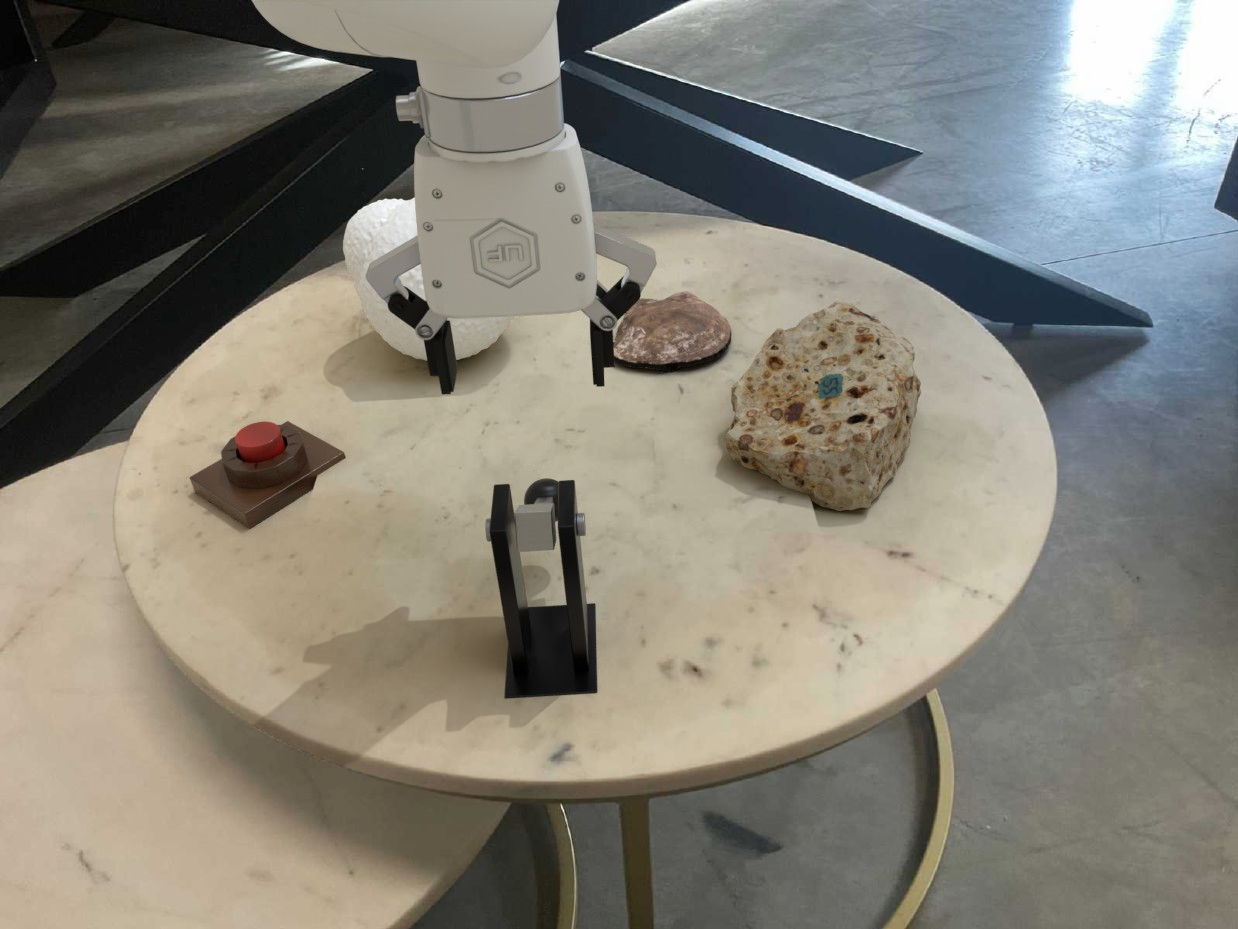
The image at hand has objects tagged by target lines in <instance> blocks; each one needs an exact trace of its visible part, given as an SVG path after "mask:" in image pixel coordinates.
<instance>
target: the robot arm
mask: <svg viewBox="0 0 1238 929" xmlns="http://www.w3.org/2000/svg"><path fill="white" fill-rule="evenodd" d="M251 2H252V4H253V5H254V7H255V9H256V10H257V11H258V12H259V13H260V15H261V16H262V17H263V18H264V19H265V20H266V21H267V22H268V23H269V25H271V26H272V27H273V28H275V29H276V30H277V31H279V33H281V34H283V35H284V36H287V37H288V38H290V39H291V40H294V41H296V42H298V43H300V44H303V45H306V46H310V47H312V48H315V49H320V50H323V51H324V50H326V51H330V52H335V53H336V52H337V53H345V54H354V55H361V56H369V57H379V58H396V59H401V60H402V59H403V60H411V61H415V62H416V67H417V68H416V69H417V73H418V74H417V75H418V79H419V80H418V81H419V84H420V86H417V87H416V90H415V91H413V92H409V94H408V95H396V97H395V109H396V110H395V111H396V116H397V119H398V121H399V122H406V121H409V122H410V121H412V123H413V124H419V126H420V129H423V132H424V135H423V136H422V137H421V138H420V139H419V141H418V142H417V144H416V145H415V147H414V158H413V160H414V161H413V190H414V191H413V192H414V194H413V195H414V197H415V211H416V223H417V234H418V235H417V236H415V237H414V238H412V239H410V240H409V241H407V242H405V243H403V244H402V245H400V246H398V247H397V248H395V249H393V250H391V251H390V252H388V253H386V254H384V255H383V256H381V257H379V258H378V259H376V260H374V261H372V262H371V263H370V265H369V268H368V270H367V273H366V279H367V281H368V282H369V283H370V285H371V286H372V287H373V288H374V290H375V291H376V292H377V293H378V295H379V296H380V297H381V298H382V300H383V299H384V301H385V302H386V303H387V304H388V309H389V311H390V312H391V313H392V314H394V315H395V316H397V317H398V318H399V319H401V320H402V321H404V322H405V323H406V324H408V325H409V326H411V327H412V328H413V329H415V332H416V335H417V336H418V337H419V338H420V339H422V340H424V345H425V350H426V356H427V361H426V362H427V367H428V372H429V376H430V377H438V381H439V386H440V392H441V395H442V396H443V395H451V393H454V392H455V386H456V381H457V376H458V363H457V362H458V361H457V360H456V355H455V349H454V343H453V336H452V330H451V324H450V320H449V321H447V318H458V319H466V318H492V317H513V316H514V317H529V316H547V315H548V316H550V315H561V314H563V315H564V314H570V313H575V312H576V313H577V312H580V311H581V312H582V313H583V315H585V316H587V318H589V339H590V356H591V370H592V372H591V373H592V384H593V386H596V388H598V387H599V388H600V387H603V388H604V387H605V369H607V368H610V369H611V368H615V367H616V366H615V362H614V344H613V343H614V329H616V327H617V325H618V321H619V320H620V319H621V318H622V317H624V316H625V315H624V314H626V312H627V311H628V310H629V309H630V308H631V307H632V306H633V305H634V304H635V303H636V302H637V301H638V300H639V299H640V298H641V297H642V292H643V290H644V288H645V287H646V285H647V284H648V282H649V280H650V278H651V276H652V274H653V273H654V270H655V269H656V267H657V263H658V262H657V257H656V256H657V255H656V251H655V249H653V248H652V247H650V246H648V245H645V244H643V243H641V242H638V241H636V240H634V239H632V238H630V237H627V236H624V235H622V234H620V233H618V232H615V231H613V230H611V229H608V228H606V227H604V226H602V225H598V224H596V223H594V214H593V209H592V208H593V207H592V199H591V193H590V186H589V180H588V174H587V169H586V164H585V160H584V156H583V152H582V148H581V145H580V142H579V138H578V135H577V132H576V130H575V128H574V127H573V126H571V125H570V124H568V123H565V117H564V102H563V90H562V88H563V87H562V76H561V62H560V59H561V58H560V48H559V32H558V20H557V12H558V8H559V4H560V0H251ZM597 255H598V256H601V257H604V258H605V259H608V260H611V261H613V262H615V263H617V264H620V265H622V266H625V267H626V271H625V273H624V275H623V276H622V277H620V279H618V281H617V282H616V283H615V284H613V286H612V287H610V289H609V290H608V289H607V287H605V286H604V285H603V284H602V283H601V282H600V281H599V280H598V260H597V259H598V258H597ZM419 264H421V270H422V278H423V286H424V291H425V296H426V301H425V300H423V299H422V298H421V297H419V296H418V295H417V294H415V293H414V292H412V291H411V290H410V289H408V288H407V287H405V286H403V285H402V283H401V280H400V279H399V278H398V276H400V275H402V274H404V273H405V272H407V271H409V270H411V269H412V268H414V267H416V266H418V265H419Z"/></svg>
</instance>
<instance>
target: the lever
mask: <svg viewBox="0 0 1238 929" xmlns="http://www.w3.org/2000/svg"><path fill="white" fill-rule="evenodd" d="M558 488H559V481H558V480H556V479H554V478H548V477H547V478H546V477H545V478H540V479H538V480H535V481H534V482H533V483H531V484H530V485H529V486H528V487H527V489H526V491H525V493H524V497H523V504H518V506H517V508H516V510H515V511H514V516H515V527H516V541H517V552H520V553H525V552H540V551H554V550H555V547H556V543H557V528H556V522H558Z"/></svg>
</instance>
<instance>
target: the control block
mask: <svg viewBox="0 0 1238 929" xmlns="http://www.w3.org/2000/svg"><path fill="white" fill-rule="evenodd" d="M277 425H278V426H279V428H280V431H281V434H282V438H283V441H284V444H285V449H284V451H283V453H281V454H280V455H278V456H276V457H275V458H273V459H271V460H267V461H263V462H259V463H249V462H245V461H243V460H242V458H241V456H240V453H239V450H238V447H237V444H236V441H235V436H233V437H232V438H230V439H229V440H228V442H227V443H226V444H225V445H224V446H223V448H222V449H221V451H220V457H221V458H220V459H218V460H217V461H215V462H213V463H211V464H210V465H208V466H206V467H204V468H203V469H201V470H198V472H196V473H194V474H192V475H190V476H189V480H190V483H191V486H192V488H193V491H194V493H195V494H197V495H198V496H200V497H201V498H202V499H204V500H206V501H207V502H208V503H210V504H212V505H213V506H215V507H216V508H218V509H219V510H221V511H222V512H223V513H225V514H226V515H228V516H230V517H231V518H232V519H233V520H235V521H237V522H238V523H240V524H241V525H243V526H244V527H246V528H247V529H249V530H251V529H253V528H255V527H256V526H257V525H259V524H261V523H263V522H264V521H266V520H267V519H269V518H270V517H272V516H274V515H275V514H277V513H279V512H280V511H282V510H284V508H286V507H288V506H289V505H291V504H293V503H294V502H296V501H297V500H299V499H300V498H302V497H304V496H305V495H307V494H309V493H310V492H312V491H313V490H314V487H315V485H316V483H317V482H316V481H317V478H318V476H320V475H322V473H324V472H325V471H327V470H329V469H330V468H332V467H334V466H335V465H337V464H338V463H340V462H341V461H343V460H345V459H346V454H345V451H343V450H341V449H339V448H338V447H336V446H334V445H332V444H331V443H329V442H327V441H325V440H323V439H322V438H320V437H317V436H316V435H314V434H312V433H311V432H309V431H307V430H305V429H303V428H302V427H300V426H298V425H296V424H294V423H293V422H290V421H289V420H286V421H284V422H283V423H282V424H277Z"/></svg>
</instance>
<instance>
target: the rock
mask: <svg viewBox="0 0 1238 929" xmlns="http://www.w3.org/2000/svg"><path fill="white" fill-rule="evenodd" d="M915 354H916V353H915V351H914V346H913V344H912V342H910V341H909V340H908V339H907V338H906V337H904V336H901V335H899V333H898V332H897V331H896V330H894V329H892V328H891V327H890V326H889V325H888V324H887V323H885V322H884V321H881V320H880V319H878V318H874V317H872V316H871V315H869V314H868V313H866V312H863V311H861V310H860V309H859V308H857V307H856V306H855V305H854V304H853V303H852V302H845V301H839V300H836V301H835V302H833V303H831V304H830V305H828V306H826V308H822V309H821V310H819V311H817V312H816V311H815V312H813V313H809V314H808V315H806V316H804V318H801V320H800V321H799V322H798V324H797V325H796V326H794V327H789V328H787V329H783V328H779V327H777V328H776V329H775V330H774V331H773V333H771V335H770V336H769V337H768V338H767V339H766V340H765V341H764V342H763V344H762V346H761V350H760V351H759V353H757V355H756V356H755V358H754V359H753V361H752V363H751V365H750V366H749V368H748V369H747V370H746V371H745V372H744V373H743V374H742V376H741V377H740V379H739V380H738V381H736V382H735V383H734V384H733V385H732V386H731V388H730V389H731V390H730V392H731V394H730V395H731V396H730V402H731V405H732V412H734V416H733V419H732V422H731V424H730V426H729V429H728V430H727V432H726V433H725V436H724V438H723V439H724V442H725V448H726V450H727V452H728V455H729V457H730V459H731V460H733V461H735V463H738V464H739V465H740V466H742V467H743V468H746V469H748V470H755V471H758V472H759V473H760V474H763V475H766V476H768V477H770V479H771V480H775V481H777V482H778V484H779V485H780V486H782V487H784V488H787V489H789V490H793V491H796V492H801V493H803V494H807V495H808V496H809V498H810V501H811V502H813V503H814V504H816V505H817V506H819V507H822V508H827V509H832V510H835V511H838V512H842V511H846V510H847V511H853V510H859V509H864V508H865V509H869V508H871V507H872V502H874V500H875V499H876V498H877V497H878V496H880V495H881V493H882V492H883V489H884V488H885V485H886V484H887V483H888V482H889V480H891V479H892V478H894V477H895V476H896V474H897V470H898V465H899V462H900V461H901V460H902V458H903V457H904V456H905V455H906V454H907V452H908V450H909V447H910V445H911V434H912V433H911V430H912V425H913V422H914V420H915V418H916V417H917V416H916V415H917V412H918V408H917V405H918V402H919V399H920V397H921V395H922V389H921V386H922V382H921V380H920V378H919V377H918V375H917V374H916V371H915V369H914V361H915V357H916V356H915Z"/></svg>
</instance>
